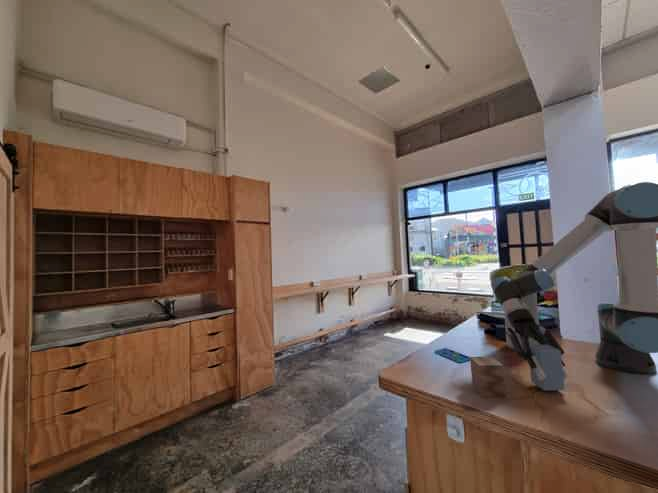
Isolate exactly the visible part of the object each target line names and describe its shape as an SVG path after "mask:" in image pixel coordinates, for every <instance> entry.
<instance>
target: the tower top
mask: <svg viewBox="0 0 658 493" xmlns="http://www.w3.org/2000/svg"><path fill="white" fill-rule="evenodd" d="M469 357H470V361H469V362H470V372H471V374H472V373H473V374H474V375H475V376H476V378H477V379H478V380H479V381H480V382H504V381H505V374H504V372H505V371H504V364H502V363H501V362H499V360H497V359H496V358H495V357H494V356H469Z"/></svg>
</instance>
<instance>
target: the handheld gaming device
mask: <svg viewBox="0 0 658 493" xmlns="http://www.w3.org/2000/svg"><path fill="white" fill-rule="evenodd" d="M434 353H435V354H436V355H439V356H441V357H442V358H445V359H448V360H450V361H452V362H455V363H457V364H463V363H467V362H470V357H471V356H469V355H466V354H463V353H461V352H459V351H458V352H457V351H456V350H453V349H450V348H447V347H444V348H439V349H436V350H434Z"/></svg>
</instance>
